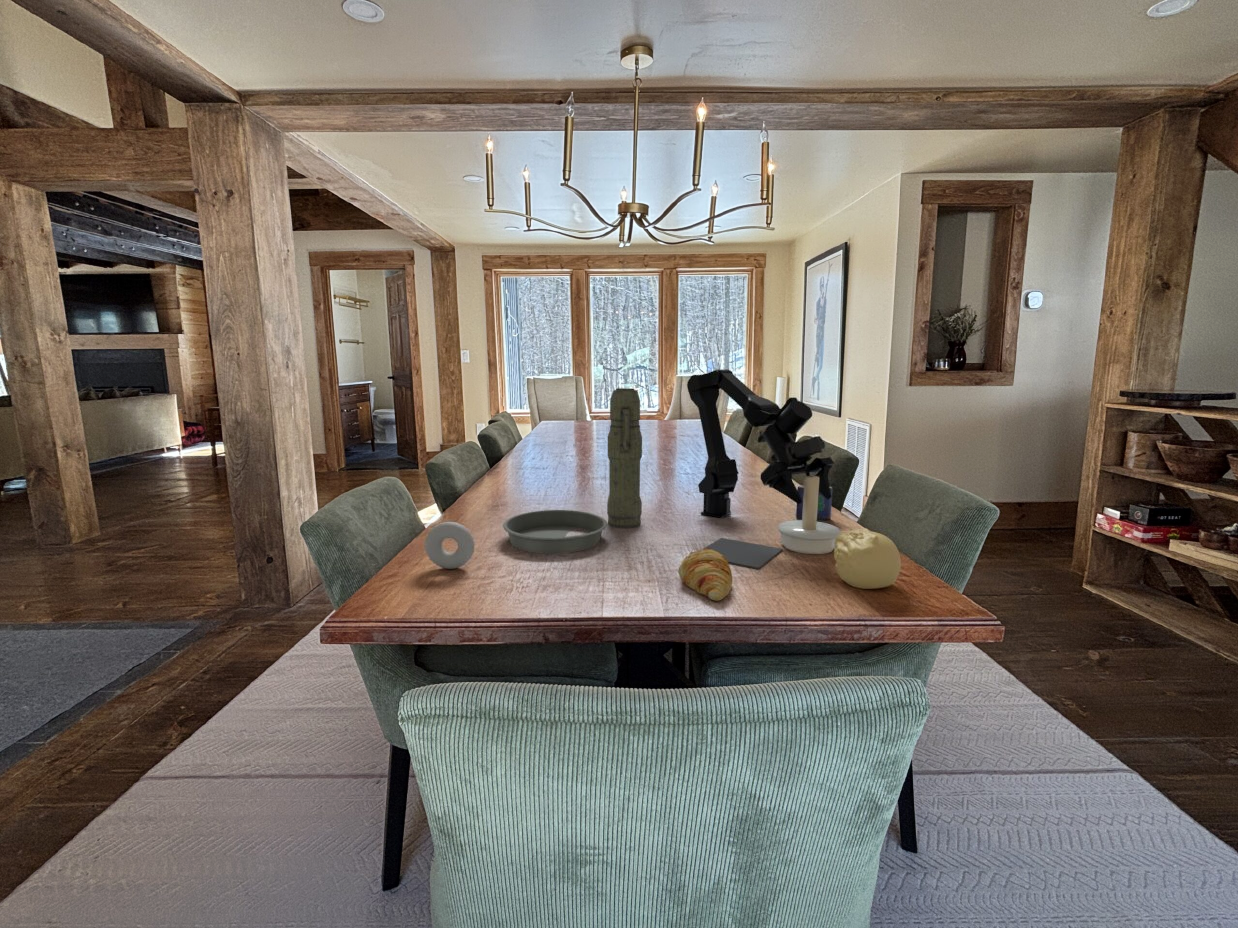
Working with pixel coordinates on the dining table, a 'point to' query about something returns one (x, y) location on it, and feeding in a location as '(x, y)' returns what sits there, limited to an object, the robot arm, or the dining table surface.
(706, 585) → the croissant
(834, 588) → the dining table surface
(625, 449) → the thermos
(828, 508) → the flask
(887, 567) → the sculpture
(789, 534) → the lid
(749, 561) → the mat
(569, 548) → the cake pan
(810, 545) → the bowl
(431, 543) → the donut
